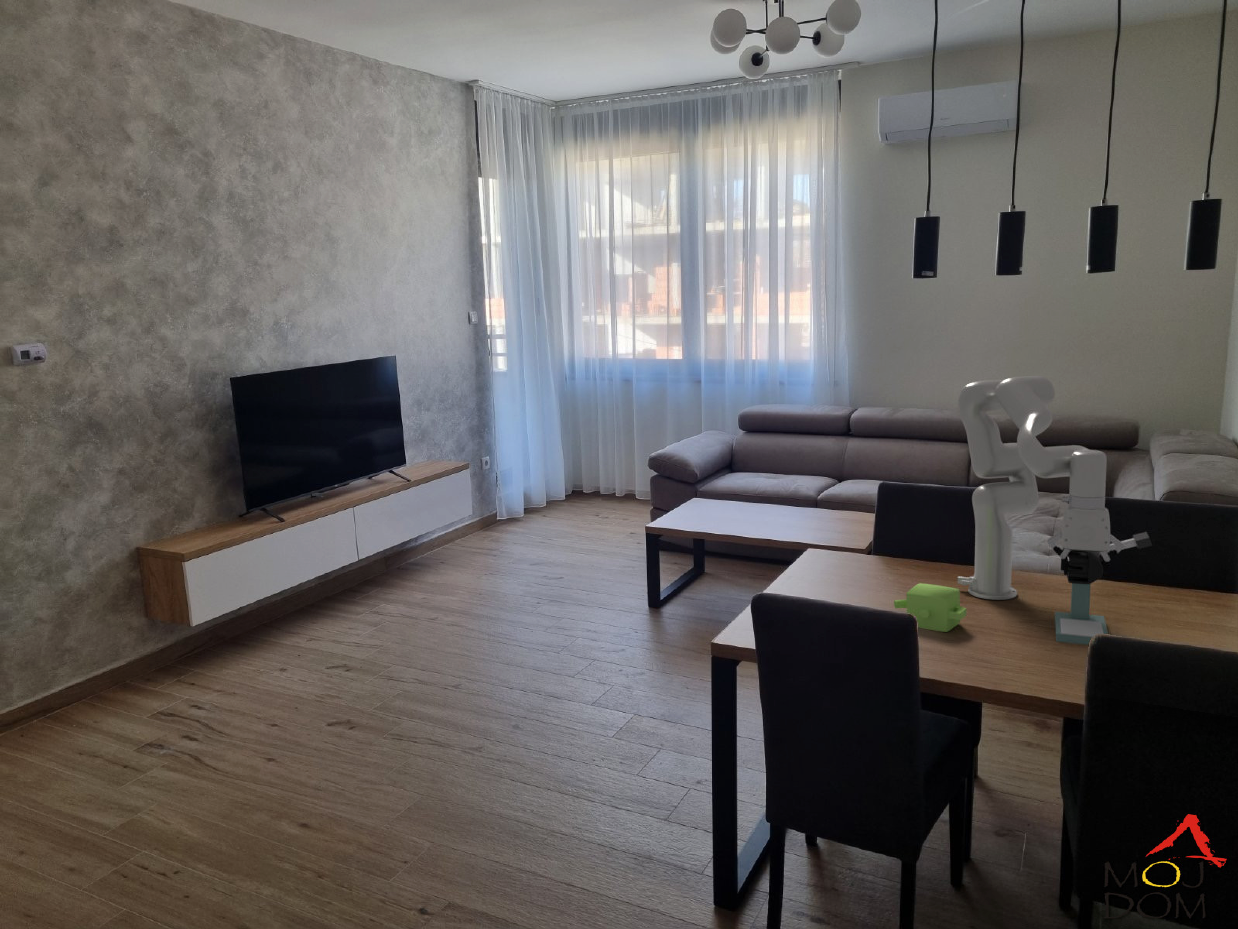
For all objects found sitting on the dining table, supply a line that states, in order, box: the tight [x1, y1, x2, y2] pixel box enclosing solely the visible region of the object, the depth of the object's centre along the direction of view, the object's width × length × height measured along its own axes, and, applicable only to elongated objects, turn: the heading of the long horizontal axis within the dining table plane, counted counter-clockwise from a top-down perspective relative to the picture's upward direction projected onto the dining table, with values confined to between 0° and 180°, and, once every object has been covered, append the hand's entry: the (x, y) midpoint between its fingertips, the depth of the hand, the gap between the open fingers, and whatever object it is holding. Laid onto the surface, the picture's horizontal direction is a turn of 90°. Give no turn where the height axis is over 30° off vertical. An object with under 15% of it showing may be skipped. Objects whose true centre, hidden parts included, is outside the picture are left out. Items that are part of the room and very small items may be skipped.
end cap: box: [1066, 550, 1103, 584], centre depth 210 cm, size 10×7×7 cm
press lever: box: [1097, 531, 1153, 556], centre depth 215 cm, size 16×6×3 cm, turn 65°
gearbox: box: [893, 582, 967, 633], centre depth 225 cm, size 18×10×10 cm, turn 48°
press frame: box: [1054, 583, 1109, 646], centre depth 215 cm, size 11×17×16 cm, turn 155°
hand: (1083, 574), depth 211 cm, fingers closed on end cap, 7 cm apart
